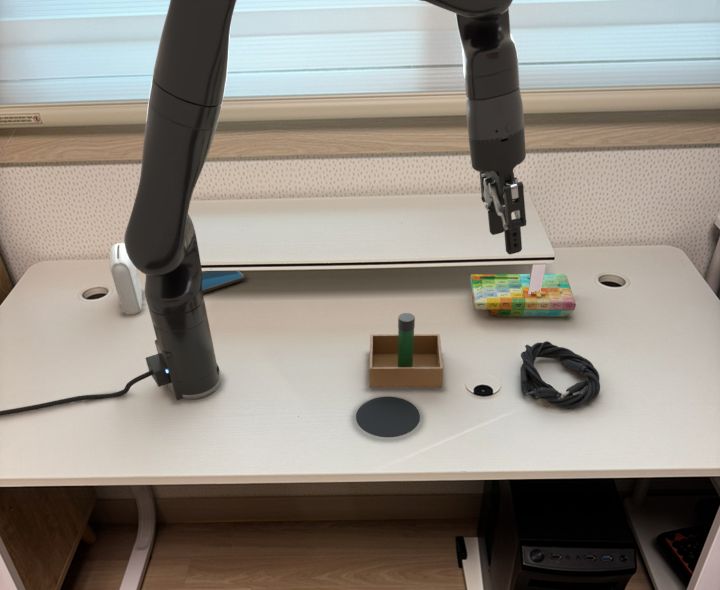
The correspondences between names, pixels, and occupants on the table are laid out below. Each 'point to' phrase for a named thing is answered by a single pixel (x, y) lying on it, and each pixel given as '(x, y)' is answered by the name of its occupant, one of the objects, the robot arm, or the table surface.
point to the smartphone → (219, 279)
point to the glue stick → (405, 339)
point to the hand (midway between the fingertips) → (505, 242)
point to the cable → (569, 360)
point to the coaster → (388, 417)
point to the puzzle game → (522, 295)
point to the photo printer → (125, 280)
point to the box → (390, 375)
